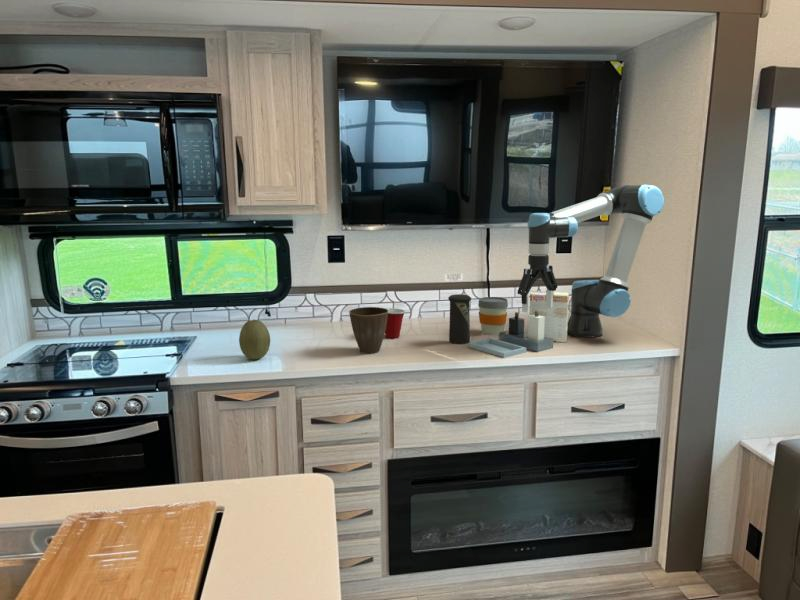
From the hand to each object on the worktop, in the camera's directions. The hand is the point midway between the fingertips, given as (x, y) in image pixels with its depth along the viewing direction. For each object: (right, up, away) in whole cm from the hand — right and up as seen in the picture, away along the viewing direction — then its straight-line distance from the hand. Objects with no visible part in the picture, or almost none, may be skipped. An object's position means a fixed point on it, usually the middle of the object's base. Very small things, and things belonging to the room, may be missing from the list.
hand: (537, 309), depth 228 cm
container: (-29, -14, +13) cm, 34 cm away
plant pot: (-65, -16, +2) cm, 67 cm away
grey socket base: (-3, -15, +7) cm, 17 cm away
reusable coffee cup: (-13, -11, +28) cm, 33 cm away
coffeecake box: (+8, -13, +18) cm, 23 cm away
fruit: (-107, -18, -6) cm, 108 cm away
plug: (0, -14, +3) cm, 15 cm away
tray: (-16, -16, 0) cm, 22 cm away
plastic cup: (-56, -12, +23) cm, 62 cm away
